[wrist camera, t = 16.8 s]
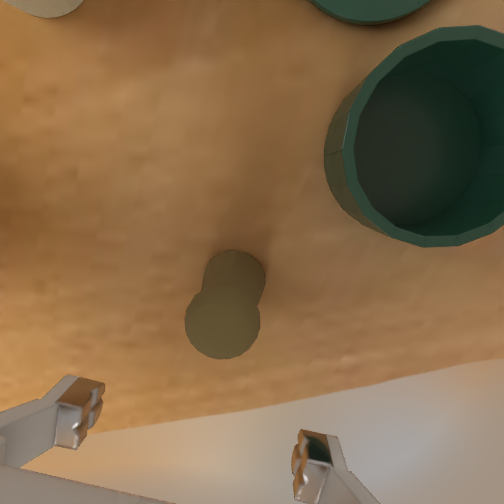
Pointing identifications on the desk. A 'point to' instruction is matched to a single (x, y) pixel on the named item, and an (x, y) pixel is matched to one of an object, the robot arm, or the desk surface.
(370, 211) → the tin
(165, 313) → the desk surface
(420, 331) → the desk surface
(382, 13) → the lid
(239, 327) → the cork
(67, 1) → the reusable coffee cup
